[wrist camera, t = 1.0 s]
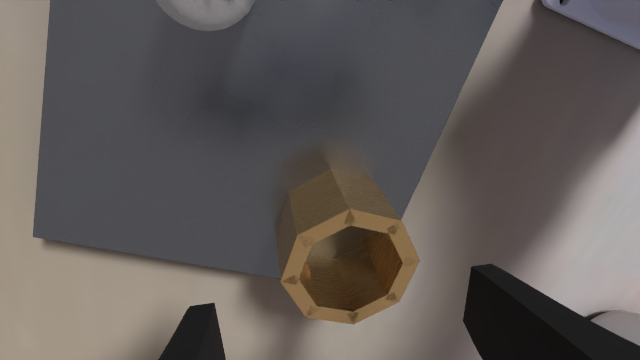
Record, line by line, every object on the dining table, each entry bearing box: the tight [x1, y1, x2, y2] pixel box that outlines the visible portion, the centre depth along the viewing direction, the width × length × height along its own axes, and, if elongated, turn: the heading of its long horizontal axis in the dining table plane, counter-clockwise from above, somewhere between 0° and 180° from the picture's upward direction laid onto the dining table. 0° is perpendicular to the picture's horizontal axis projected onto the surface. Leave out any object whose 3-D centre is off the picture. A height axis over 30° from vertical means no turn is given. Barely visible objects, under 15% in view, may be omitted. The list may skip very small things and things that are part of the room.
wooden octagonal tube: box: [275, 170, 420, 324], centre depth 18 cm, size 6×6×4 cm
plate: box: [33, 0, 503, 279], centre depth 15 cm, size 17×18×6 cm
